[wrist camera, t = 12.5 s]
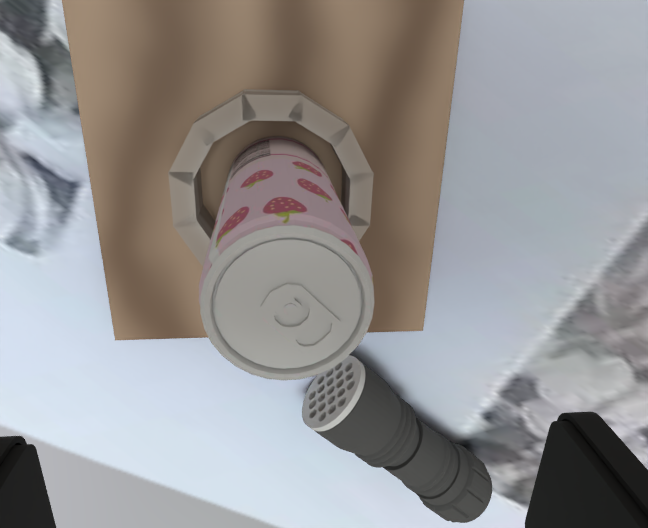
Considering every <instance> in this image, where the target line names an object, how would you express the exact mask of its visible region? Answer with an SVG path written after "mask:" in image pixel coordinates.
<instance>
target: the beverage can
mask: <svg viewBox="0 0 648 528" xmlns="http://www.w3.org/2000/svg"><path fill="white" fill-rule="evenodd" d="M374 303H375V302H374V286H373V275H372V272H371V269H370V266H369V263H368V260H367V258H366V256H365V253H364V251H363V249H362V247H361V245H360V243H359V241H358V238H357V236H356V234H355V232H354V230H353V228H352V226H351V223H350V221H349V219H348V217H347V215H346V213H345V211H344V208H343V206H342V204H341V202H340V200H339V198H338V196H337V194H336V191H335V189H334V187H333V185H332V183H331V181H330V179H329V176H328V174H327V172H326V170H325V168H324V166H323V164H322V162H321V161H320V159H319V157H318V156H317V155H316V154H315V153H314V152H313V151H312V150H311V149H310V148H309V147H307V146H306V145H305V144H303V143H302V142H299V141H297V140H294V139H292V138H287V137H281V136H279V137H267V138H263V139H259V140H257V141H255V142H253V143H251V144H249V145H248V146H247V147H246V148H244V149H243V150H242V151H241V152H240V153H239V154H238V156H237V157H236V158H235V159H234V161H233V164H232V166H231V168H230V170H229V174H228V178H227V181H226V185H225V189H224V192H223V196H222V200H221V203H220V207H219V211H218V215H217V218H216V222H215V226H214V229H213V233H212V237H211V240H210V244H209V248H208V251H207V255H206V259H205V262H204V266H203V270H202V274H201V278H200V282H199V304H200V313H201V317H202V321H203V326H204V329H205V331H206V333H207V335H208V337H209V339H210V341H211V343H212V344H213V345H214V346H215V348H216V349H217V350H218V351H219V352H220V354H221V355H222V356H223V357H225V358H226V359H227V360H228V361H230V362H231V363H232V364H234V365H235V366H237V367H238V368H240V369H242V370H244V371H246V372H248V373H250V374H253V375H256V376H260V377H263V378H267V379H275V380H296V379H303V378H307V377H311V376H315V375H318V374H320V373H322V372H325V371H327V370H329V369H331V368H333V367H334V366H336V365H337V364H338V363H340V362H341V361H343V360H344V359H345V358H347V357H348V356H349V355H350V353H351V352H352V351H353V350H354V349H355V348H356V347H357V346H358V345H359V343H360V342H361V340H362V339H363V337H364V336H365V334H366V333H367V330H368V328H369V325H370V322H371V320H372V316H373V309H374Z"/></svg>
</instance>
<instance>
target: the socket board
mask: <svg viewBox="0 0 648 528" xmlns="http://www.w3.org/2000/svg"><path fill="white" fill-rule="evenodd" d="M62 4H63V10H64V17H65V23H66V30H67V36H68V42H69V49H70V55H71V61H72V68H73V74H74V81H75V87H76V93H77V100H78V106H79V112H80V119H81V125H82V132H83V138H84V144H85V151H86V157H87V163H88V170H89V176H90V182H91V189H92V195H93V202H94V208H95V214H96V221H97V227H98V233H99V240H100V246H101V253H102V259H103V265H104V272H105V278H106V284H107V291H108V297H109V304H110V310H111V316H112V323H113V329H114V335H115V340H138V339H170V338H202V337H208V335H207V333H206V331H205V329H204V326H203V321H202V317H201V313H200V304H199V282H200V278H201V274H202V270H203V266H204V262H205V259H206V255H207V251H208V248H209V244H210V240H211V237H212V233H213V229H214V226H215V222H216V218H217V215H218V211H219V207H220V203H221V200H222V196H223V192H224V189H225V185H226V181H227V178H228V174H229V170H230V168H231V166H232V164H233V161H234V159H235V158H236V157H237V156H238V154H239V153H240V152H241V151H242V150H243V149H244V148H246V147H247V146H248V145H249V144H251V143H253V142H255V141H257V140H259V139H263V138H267V137H279V136H281V137H287V138H292V139H294V140H297V141H299V142H302V143H303V144H305V145H306V146H307V147H309V148H310V149H311V150H312V151H313V152H314V153H315V154H316V155H317V156H318V157H319V159H320V161H321V162H322V164H323V166H324V168H325V170H326V172H327V174H328V176H329V179H330V181H331V183H332V185H333V187H334V189H335V191H336V194H337V196H338V198H339V200H340V202H341V204H342V206H343V208H344V211H345V213H346V215H347V217H348V219H349V221H350V223H351V226H352V228H353V230H354V232H355V234H356V236H357V238H358V241H359V243H360V245H361V247H362V249H363V251H364V253H365V256H366V258H367V260H368V263H369V266H370V269H371V272H372V275H373V286H374V302H375V303H374V309H373V316H372V320H371V322H370V325H369V328H368V330H367V332H395V331H423V326H424V318H425V310H426V302H427V294H428V286H429V278H430V270H431V262H432V254H433V246H434V238H435V230H436V222H437V214H438V206H439V198H440V190H441V181H442V173H443V165H444V157H445V149H446V141H447V133H448V125H449V117H450V109H451V101H452V93H453V85H454V77H455V69H456V61H457V53H458V45H459V37H460V29H461V21H462V13H463V5H464V0H62Z"/></svg>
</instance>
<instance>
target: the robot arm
mask: <svg viewBox="0 0 648 528" xmlns="http://www.w3.org/2000/svg"><path fill="white" fill-rule="evenodd" d="M0 528H56V525H55V521H54V517H53V513H52V510H51V505H50V502H49V497H48V494H47V490H46V486H45V482H44V478H43V474H42V470H41V466H40V462H39V458H38V455H37V450H36V448H35V446H34V445H32V444H27V443H26V441H25V439H24V438H23V437H22V436H7V437H0ZM525 528H648V470H647V469H646V468H645V466H644V465H643V464H642V463H641V462H640V461H639V460H638V459H637V457H636V456H635V455H634V454H633V453H632V452H631V451H630V450H629V448H628V447H627V446H626V445H625V444H624V443H623V442H622V441H621V439H620V438H619V437H618V436H617V435H616V434H615V433H614V432H613V430H612V429H611V428H610V427H609V426H608V425H607V424H606V423H605V421H604V420H603V419H602V418H601V417H600V416H599V415H598V414H596V413H594V412H574V413H562V414H561V415H560V416H559V417H558V420H557V421H554V422H552V423H551V425H550V428H549V432H548V436H547V440H546V444H545V447H544V451H543V455H542V459H541V463H540V466H539V470H538V474H537V478H536V482H535V485H534V489H533V493H532V497H531V501H530V505H529V508H528V512H527V516H526V520H525Z"/></svg>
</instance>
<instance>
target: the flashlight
mask: <svg viewBox="0 0 648 528" xmlns="http://www.w3.org/2000/svg"><path fill="white" fill-rule="evenodd" d="M302 417H303V421H304V423H305V424H306V425H307V426H308V427H310V428H311V429H313V430H314V431H315V432H317V433H318V434H320V435H321V436H323V437H324V438H325V439H327V440H328V441H330V442H331V443H333V444H334V445H335V446H337V447H338V448H340V449H343V450H346V451H349V452H352V453H355V455H356V456H357V457H359V458H361V459H362V460H363V461H365V462H366V463H367V464H369V465H370V466H373V467H383V468H384V469H386V470H387V471H389V472H390V473H391V474H393V475H394V476H396V477H397V478H398V479H400V480H401V481H402V482H403V483H404V485H405V486H406V487H407V488H409V489H410V490H412V491H413V492H415V493H416V494H417V495H418V496H419V497H420V500H421V501H423V504H424V505H425V506H426V507H428V508H429V509H430V510H432V511H433V512H435V513H436V514H438V515H439V516H440V517H442V518H443V519H445V520H447V521H452V522H460V523H465V522H470V521H472V520H474V519H476V518H477V517H479V516H480V515H481V514H482V513H483V512H484V510H485V509H486V507H487V506H488V504H489V501H490V498H491V494H492V482H491V478H490V475H489V473H488V472H487V469H486V467H485V465H484V463H483V462H482V461H480V460H479V459H478V458H477V457H476V456H474V455H473V454H472V453H471V452H469V451H468V450H467V449H466V448H464V447H463V446H461V445H459V444H457V443H455V444H454V443H452V442H451V441H449V440H448V439H446V438H445V437H444V436H443V435H441V434H440V433H438V432H435V431H433V430H432V429H430V428H429V427H428V426H427V425H425V424H424V423H423V422H422V421H420V420H419V419H418V418H416V416H415V413H414V410H413V409H412V407H411V406H410V405H409V404H408V403H406V402H405V401H404V400H403V399H401V398H400V397H399V396H397V395H395V394H394V393H393V391H392V390H391V388H390V387H389V386H388V384H387V383H386V382H385V381H384V380H383V379H382V378H381V377H379V376H378V375H377V374H376V373H374V372H373V371H372V370H371V369H369V368H368V367H367V366H366V365H364V364H363V363H362V362H361V361H360V360H358V359H357V358H356V357H354V356H351V355H349V356H348V357H347V358H345V359H344V360H343V361H341V362H340V363H338V364H337V365H336V366H334V367H333V368H331V369H329V370H327V371H325V372H322V373H320V374H318V375H317V376H316V377H315V379H314V380H313V382H312V383H311V385H310V387H309V389H308V391H307V393H306V395H305V398H304V401H303V407H302Z"/></svg>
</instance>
